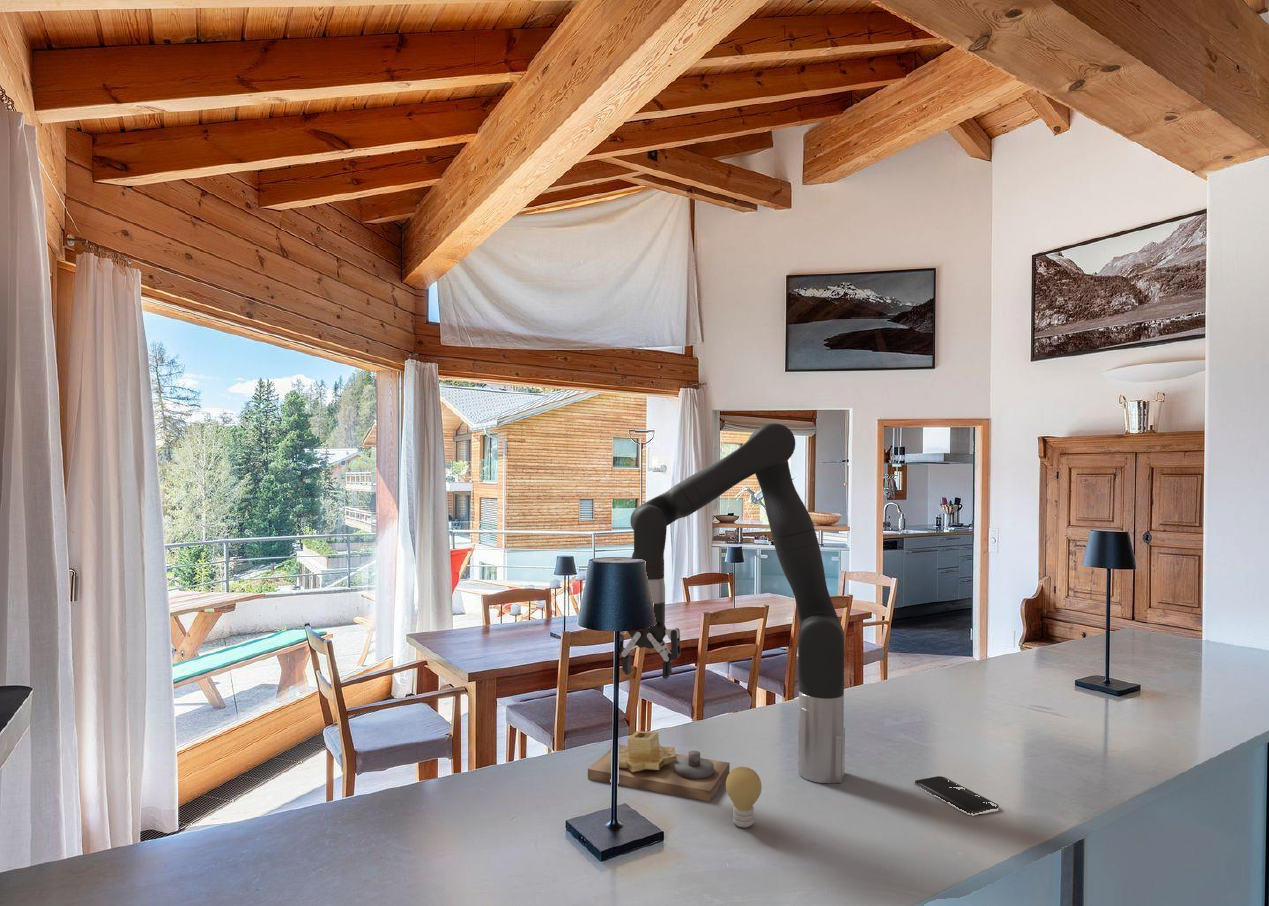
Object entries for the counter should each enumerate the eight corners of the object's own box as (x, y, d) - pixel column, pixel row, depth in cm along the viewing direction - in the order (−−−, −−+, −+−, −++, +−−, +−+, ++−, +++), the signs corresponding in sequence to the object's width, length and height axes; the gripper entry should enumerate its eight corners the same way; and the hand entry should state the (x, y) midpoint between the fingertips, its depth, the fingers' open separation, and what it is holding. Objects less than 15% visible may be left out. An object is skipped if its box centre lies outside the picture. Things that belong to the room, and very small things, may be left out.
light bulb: (760, 835, 127) (761, 777, 127) (724, 831, 128) (724, 773, 129) (761, 818, 133) (762, 763, 134) (726, 814, 135) (727, 759, 135)
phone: (970, 813, 135) (912, 780, 149) (970, 819, 135) (912, 786, 149) (1002, 806, 138) (942, 775, 152) (1002, 812, 138) (941, 780, 152)
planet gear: (687, 749, 157) (685, 726, 157) (665, 774, 144) (663, 748, 144) (626, 746, 162) (624, 723, 163) (600, 770, 149) (598, 745, 149)
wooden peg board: (729, 772, 154) (729, 738, 154) (710, 801, 140) (710, 764, 140) (616, 753, 164) (616, 721, 164) (587, 778, 150) (588, 744, 150)
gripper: (684, 598, 155) (684, 675, 155) (623, 594, 160) (622, 668, 160) (673, 604, 148) (673, 684, 148) (609, 599, 153) (608, 677, 153)
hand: (646, 676), depth 154 cm, fingers open, 8 cm apart
